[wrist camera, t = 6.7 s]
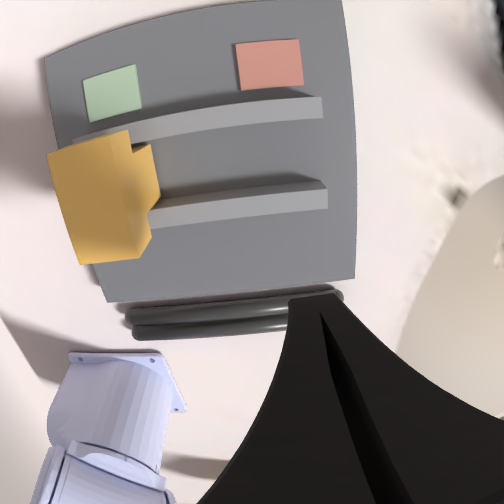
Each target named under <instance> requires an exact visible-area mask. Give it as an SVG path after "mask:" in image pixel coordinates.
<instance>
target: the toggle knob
mask: <svg viewBox="0 0 504 504" xmlns="http://www.w3.org/2000/svg"><path fill="white" fill-rule="evenodd" d="M46 156H47V160H48V164H49V168H50V172H51V176H52V180H53V184H54V188H55V191H56V195H57V198H58V202H59V205H60V208H61V212H62V215H63V218H64V221H65V224H66V228H67V231H68V234H69V237H70V239H71V242H72V245H73V248H74V251H75V254H76V256H77V259H78V262H79V264H80V265H86V264H94V263H102V262H111V261H119V260H128V259H137V258H140V257H141V255H142V253H143V251H144V250H145V248H146V246H147V245H148V243H149V241H150V240H151V238H152V235H151V231H150V227H149V223H148V219H147V213H148V212H149V211H150V209H151V208H152V207H153V205H154V204H155V203H156V202H157V200H158V199H159V198H160V196H161V194H160V189H159V184H158V180H157V175H156V170H155V165H154V160H153V155H152V149H151V144H148V145H143V146H138V147H134V148H131V143H130V138H129V133H128V129H127V130H123V131H119V132H115V133H111V134H107V135H104V136H100V137H96V138H93V139H89V140H86V141H82V142H79V143H76V144H73V145H70V146H67V147H64V148H62V149H59V150H57V151H54V152H52V153H50V154H47V155H46Z"/></svg>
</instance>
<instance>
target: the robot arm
mask: <svg viewBox="0 0 504 504" xmlns="http://www.w3.org/2000/svg"><path fill="white" fill-rule="evenodd" d="M151 358H152V359H151ZM68 359H69V361H70V362H71V364H70V366H69V368H68V370H67V372H66V374H65V376H64V379H63V381H62V383H61V385H60V387H59V389H58V391H57V393H56V396H55V398H54V400H53V402H52V404H51V407H50V409H49V412H48V417H47V432H48V437H49V440H50V442H51V444H52V446H53V447H50V448H49V449H48V452H47V454H46V457H45V460H44V463H43V465H42V468H41V471H40V474H39V477H38V480H37V483H36V486H35V489H34V492H33V495H32V499H31V502H30V504H177V502H176V500H175V497H174V495H173V493H172V492H171V491H169V490H167V489H165V486H166V478H164V477H162V476H159V472H160V466H161V460H162V454H163V448H164V442H165V436H166V431H167V425H168V420H169V414H170V412H186V410H187V407H186V405H185V403H184V400H183V398H182V396H181V394H180V392H179V390H178V387H177V385H176V383H175V381H174V379H173V376H172V374H171V372H170V369H169V367H168V365H167V362H166V360H165V358H164V356H163V355H162V354H160V353H74V352H70V353H69V354H68ZM197 504H504V421H503V420H501V419H498V418H496V417H494V416H491V415H489V414H487V413H485V412H483V411H481V410H479V409H477V408H475V407H473V406H471V405H469V404H467V403H466V402H464V401H462V400H460V399H459V398H457V397H455V396H453V395H452V394H450V393H448V392H447V391H445V390H443V389H441V388H440V387H438V386H437V385H435V384H434V383H432V382H431V381H429V380H428V379H427V378H425V377H424V376H423V375H421V374H420V373H418V372H417V371H416V370H414V369H413V368H412V367H410V366H409V365H408V364H407V363H406V362H404V361H403V360H402V359H401V358H399V357H398V356H397V355H396V354H395V353H394V352H393V351H391V350H390V349H389V348H388V347H387V346H386V345H385V344H384V343H383V342H381V341H380V340H379V339H378V338H377V337H376V336H375V335H374V334H373V333H372V332H371V331H370V330H369V329H368V328H367V327H366V326H365V325H364V324H363V323H362V322H361V321H360V320H359V319H358V318H357V317H356V316H355V315H354V314H353V313H352V312H351V310H350V309H349V308H348V307H347V306H346V305H345V304H344V303H343V302H342V300H341V299H340V298H339V297H338V296H337V295H336V294H335V293H328V294H321V295H314V296H307V297H300V298H292V299H290V300H289V301H288V323H287V330H286V335H285V340H284V344H283V348H282V352H281V356H280V359H279V362H278V365H277V368H276V371H275V374H274V377H273V380H272V382H271V385H270V388H269V390H268V392H267V395H266V397H265V399H264V402H263V404H262V406H261V408H260V410H259V412H258V414H257V416H256V418H255V420H254V422H253V424H252V426H251V427H250V429H249V431H248V433H247V435H246V436H245V438H244V440H243V442H242V443H241V445H240V446H239V448H238V450H237V451H236V453H235V454H234V456H233V457H232V458H231V460H230V461H229V463H228V464H227V466H226V467H225V469H224V470H223V472H222V473H221V474H220V476H219V477H218V479H217V480H216V481H215V482H214V484H213V485H212V486H211V487H210V489H209V490H208V491H207V492H206V493H205V495H204V496H203V497H202V498H201V499H200V500H199V502H198V503H197Z"/></svg>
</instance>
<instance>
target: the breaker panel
mask: <svg viewBox="0 0 504 504" xmlns="http://www.w3.org/2000/svg"><path fill="white" fill-rule="evenodd" d="M44 62H45V71H46V80H47V87H48V94H49V101H50V107H51V113H52V119H53V124H54V130H55V135H56V140H57V144H58V149H62V148H64V147H67V146H70V145H73V144H76V143H79V142H82V141H86V140H89V139H93V138H96V137H100V136H104V135H107V134H111V133H115V132H119V131H123V130H127V129H128V133H129V138H130V143H131V148H134V147H138V146H143V145H148V144H151V149H152V155H153V160H154V165H155V170H156V175H157V180H158V184H159V189H160V194H161V196H160V198H159V199H158V200H157V202H156V203H155V204H154V205H153V207H152V208H151V209H150V211H149V212H148V213H147V219H148V223H149V227H150V231H151V235H152V238H151V240H150V241H149V243H148V245H147V246H146V248H145V250H144V251H143V253H142V255H141V257H140V258H137V259H128V260H119V261H111V262H102V263H94V264H92V265H93V268H94V270H95V273H96V276H97V278H98V281H99V283H100V286H101V288H102V291H103V293H104V296H105V298H106V301H107V303H110V302H125V301H140V300H154V299H166V298H179V297H191V296H202V295H213V294H224V293H234V292H244V291H254V290H263V289H272V288H281V287H290V286H299V285H307V284H316V283H324V282H332V281H340V280H347V279H355V261H356V235H357V156H356V131H355V113H354V99H353V87H352V76H351V66H350V57H349V48H348V40H347V33H346V26H345V19H344V12H343V6H342V0H269V1H255V2H245V3H236V4H227V5H220V6H213V7H207V8H201V9H196V10H190V11H185V12H181V13H176V14H171V15H167V16H163V17H159V18H155V19H151V20H147V21H143V22H140V23H136V24H133V25H130V26H126V27H123V28H120V29H117V30H114V31H111V32H108V33H105V34H102V35H99V36H97V37H94V38H91V39H89V40H86V41H83V42H81V43H78V44H76V45H73V46H71V47H69V48H66V49H64V50H62V51H59V52H57V53H55V54H53V55H51V56H49V57H46V58H44ZM328 293H335V294H336V295H337V296H338V297H339V298H340V299H341V300H342V302H343V300H344V296H343V294H342V292H341V291H339V290H337V289H333V290H325V291H317V292H309V293H301V294H292V295H283V296H274V297H265V298H256V299H246V300H236V301H225V302H214V303H202V304H190V305H178V306H164V307H150V308H134V309H129V310H128V311H127V312H126V314H125V320H126V322H127V323H128V324H130V325H136V326H134V327H133V329H132V336H133V338H134V339H136V340H138V341H149V340H174V339H193V338H209V337H222V336H235V335H246V334H257V333H267V332H276V331H285V330H287V323H288V301H289V300H290V299H292V298H300V297H307V296H314V295H321V294H328Z"/></svg>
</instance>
